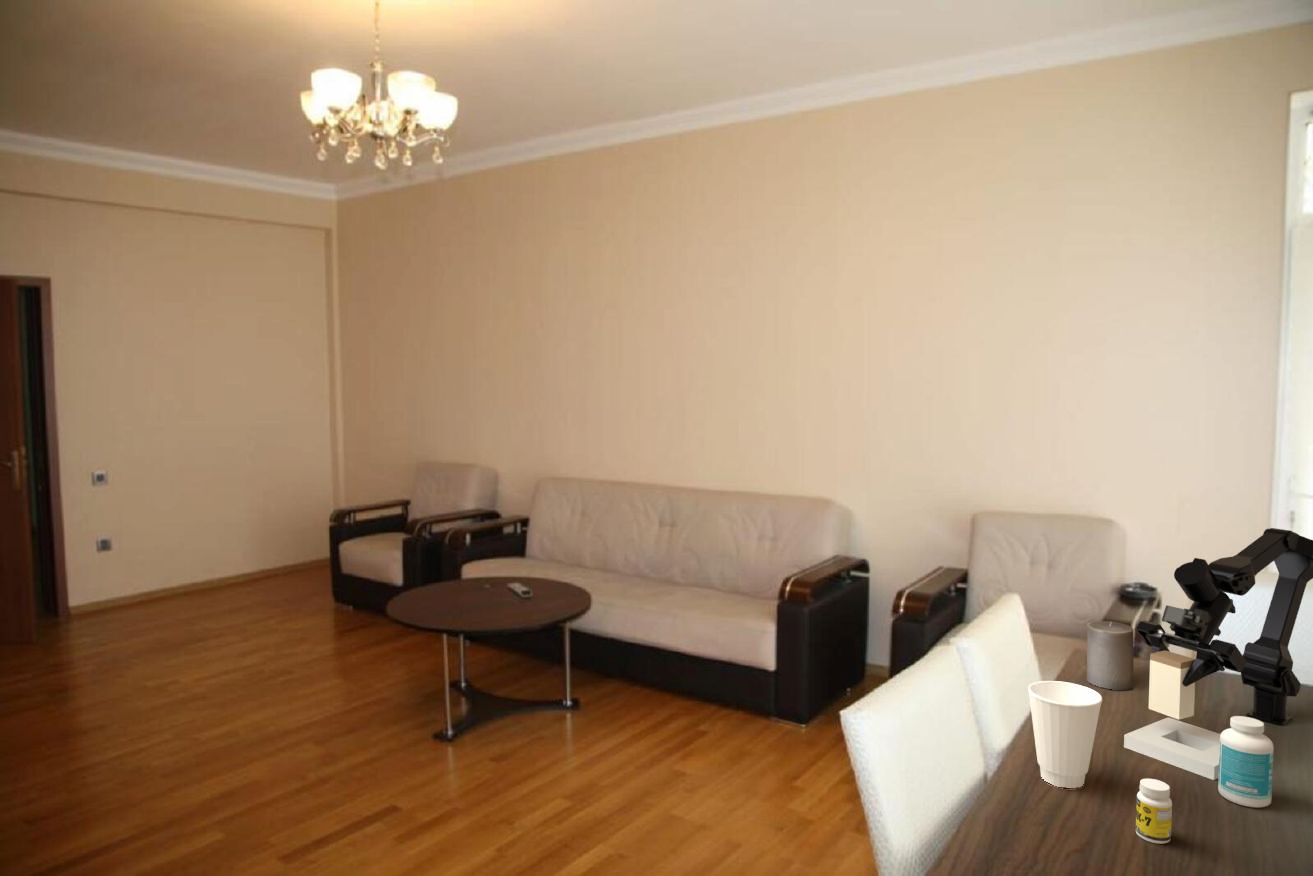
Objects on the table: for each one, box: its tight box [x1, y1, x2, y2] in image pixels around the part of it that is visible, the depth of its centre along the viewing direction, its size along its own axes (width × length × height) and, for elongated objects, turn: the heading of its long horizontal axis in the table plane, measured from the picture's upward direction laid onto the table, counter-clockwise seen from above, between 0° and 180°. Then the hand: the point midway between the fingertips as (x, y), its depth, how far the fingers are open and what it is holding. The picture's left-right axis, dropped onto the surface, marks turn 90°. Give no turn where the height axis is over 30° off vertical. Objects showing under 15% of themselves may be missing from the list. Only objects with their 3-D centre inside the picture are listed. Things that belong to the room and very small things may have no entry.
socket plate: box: [1123, 716, 1221, 781], centre depth 159 cm, size 16×16×2 cm
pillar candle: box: [1086, 620, 1135, 691], centre depth 196 cm, size 10×10×15 cm
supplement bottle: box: [1135, 778, 1173, 845], centre depth 130 cm, size 5×5×8 cm
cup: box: [1027, 680, 1103, 788], centre depth 148 cm, size 12×12×16 cm
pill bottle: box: [1217, 715, 1275, 808], centre depth 141 cm, size 8×7×14 cm
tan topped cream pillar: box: [1148, 650, 1196, 721], centre depth 161 cm, size 4×6×11 cm
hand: (1167, 679), depth 161 cm, fingers closed on tan topped cream pillar, 6 cm apart
